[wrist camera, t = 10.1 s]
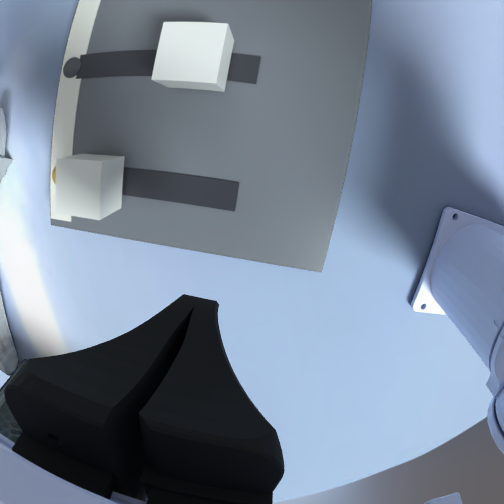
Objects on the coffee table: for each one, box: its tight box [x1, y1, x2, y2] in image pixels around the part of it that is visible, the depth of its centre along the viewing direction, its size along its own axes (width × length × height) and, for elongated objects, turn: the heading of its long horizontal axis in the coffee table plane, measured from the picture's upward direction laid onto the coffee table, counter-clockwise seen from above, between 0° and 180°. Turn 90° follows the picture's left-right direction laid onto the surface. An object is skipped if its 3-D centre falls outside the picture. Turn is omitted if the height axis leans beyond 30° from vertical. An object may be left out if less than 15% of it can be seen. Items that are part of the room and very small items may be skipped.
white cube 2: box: [151, 22, 234, 92], centre depth 12 cm, size 3×3×3 cm
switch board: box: [50, 0, 372, 272], centre depth 15 cm, size 18×22×2 cm
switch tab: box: [56, 154, 125, 220], centre depth 15 cm, size 3×3×3 cm
